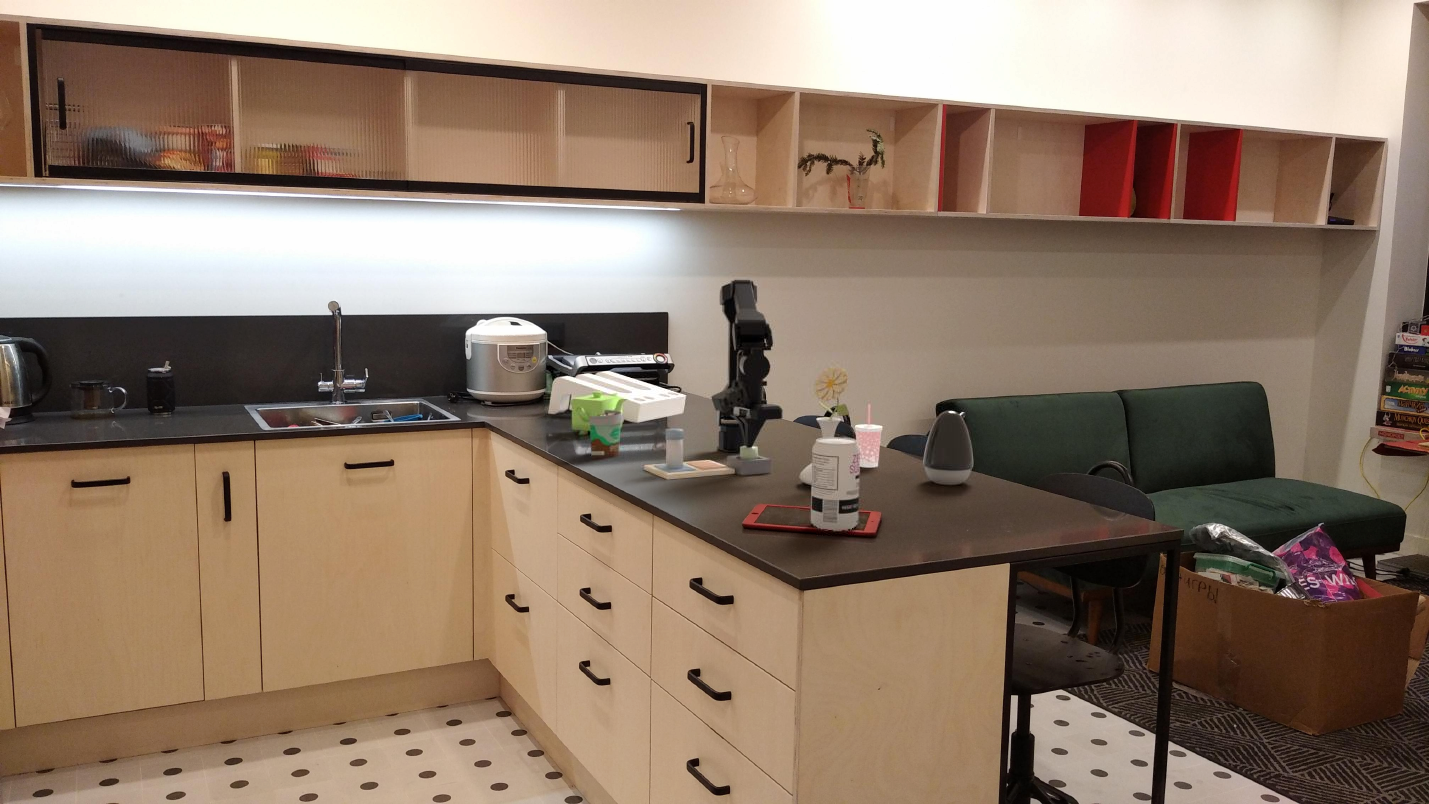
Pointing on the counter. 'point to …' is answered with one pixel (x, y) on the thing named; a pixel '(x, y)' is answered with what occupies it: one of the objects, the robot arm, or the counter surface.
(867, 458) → the beverage cup
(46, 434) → the counter surface
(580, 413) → the kettle
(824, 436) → the flower in vase
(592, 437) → the food container
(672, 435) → the capped clear jar
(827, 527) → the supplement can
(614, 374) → the bracket
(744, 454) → the button
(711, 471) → the picture board
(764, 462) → the button housing
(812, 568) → the counter surface
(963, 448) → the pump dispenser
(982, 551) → the counter surface
